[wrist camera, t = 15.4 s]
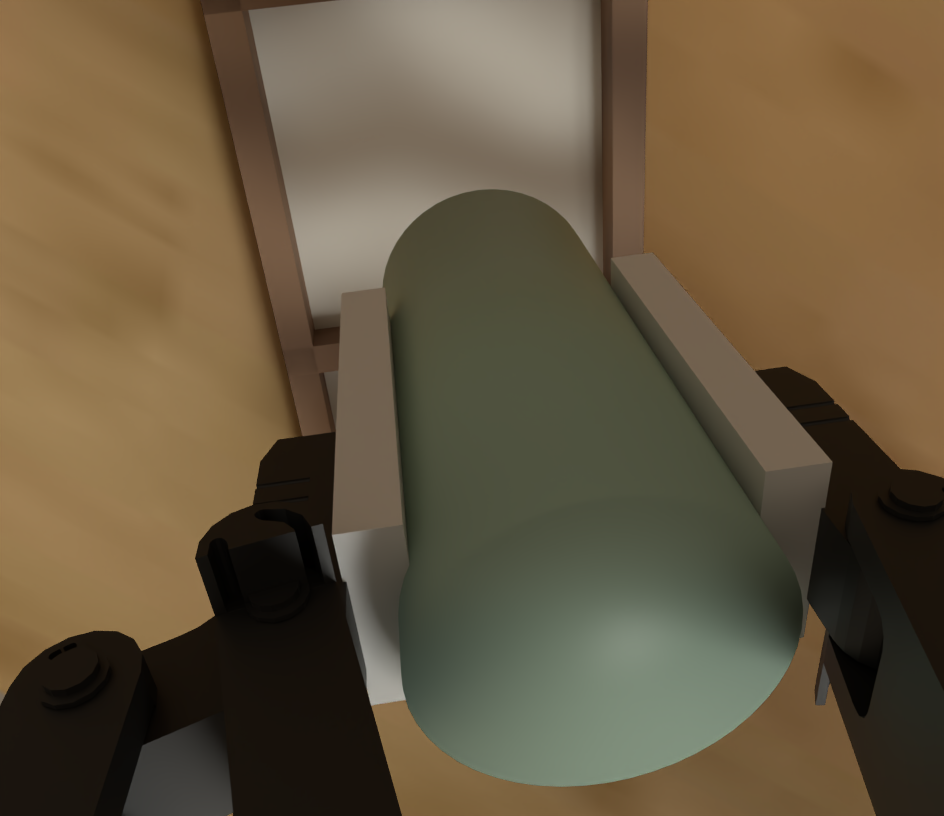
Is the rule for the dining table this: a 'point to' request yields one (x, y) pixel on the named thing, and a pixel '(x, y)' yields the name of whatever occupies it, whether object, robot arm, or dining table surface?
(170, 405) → the dining table surface
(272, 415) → the dining table surface
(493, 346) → the green wooden peg
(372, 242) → the walnut slot rack
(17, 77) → the dining table surface
